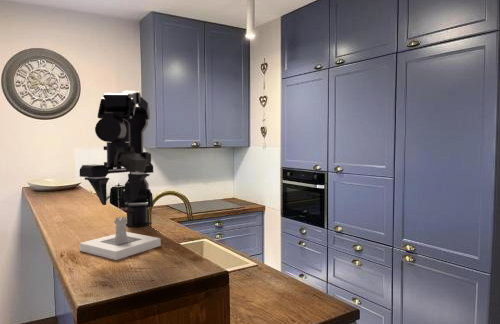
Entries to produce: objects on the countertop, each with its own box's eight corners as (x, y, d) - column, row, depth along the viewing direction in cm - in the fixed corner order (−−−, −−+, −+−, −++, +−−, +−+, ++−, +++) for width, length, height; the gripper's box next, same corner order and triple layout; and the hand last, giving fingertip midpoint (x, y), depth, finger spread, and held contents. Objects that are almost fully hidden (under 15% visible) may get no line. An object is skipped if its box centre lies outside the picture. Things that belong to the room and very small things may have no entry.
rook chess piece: (111, 247, 93) (111, 216, 92) (129, 245, 95) (129, 215, 94) (112, 251, 89) (112, 220, 88) (131, 249, 91) (130, 218, 90)
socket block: (125, 238, 101) (125, 231, 101) (160, 245, 94) (160, 237, 94) (79, 250, 89) (79, 242, 89) (115, 260, 82) (115, 251, 82)
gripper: (107, 142, 79) (108, 211, 80) (167, 142, 95) (168, 200, 96) (77, 142, 85) (78, 206, 86) (139, 142, 101) (139, 197, 101)
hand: (119, 202), depth 92 cm, fingers open, 9 cm apart
